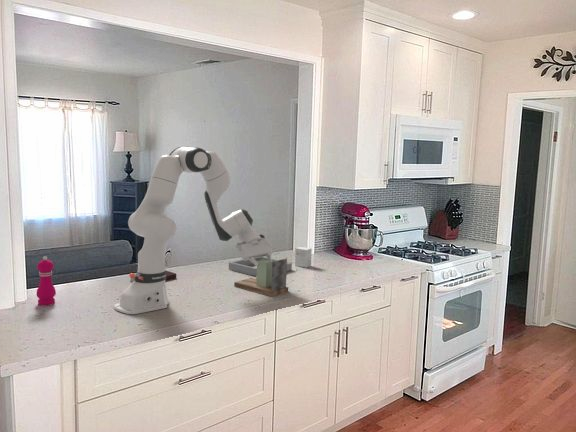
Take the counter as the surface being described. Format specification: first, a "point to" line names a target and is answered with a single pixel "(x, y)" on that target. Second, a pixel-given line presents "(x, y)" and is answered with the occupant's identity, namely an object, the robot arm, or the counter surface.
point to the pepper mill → (45, 283)
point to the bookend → (277, 281)
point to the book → (168, 276)
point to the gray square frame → (246, 269)
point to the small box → (303, 257)
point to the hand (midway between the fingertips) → (264, 264)
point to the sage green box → (264, 273)
